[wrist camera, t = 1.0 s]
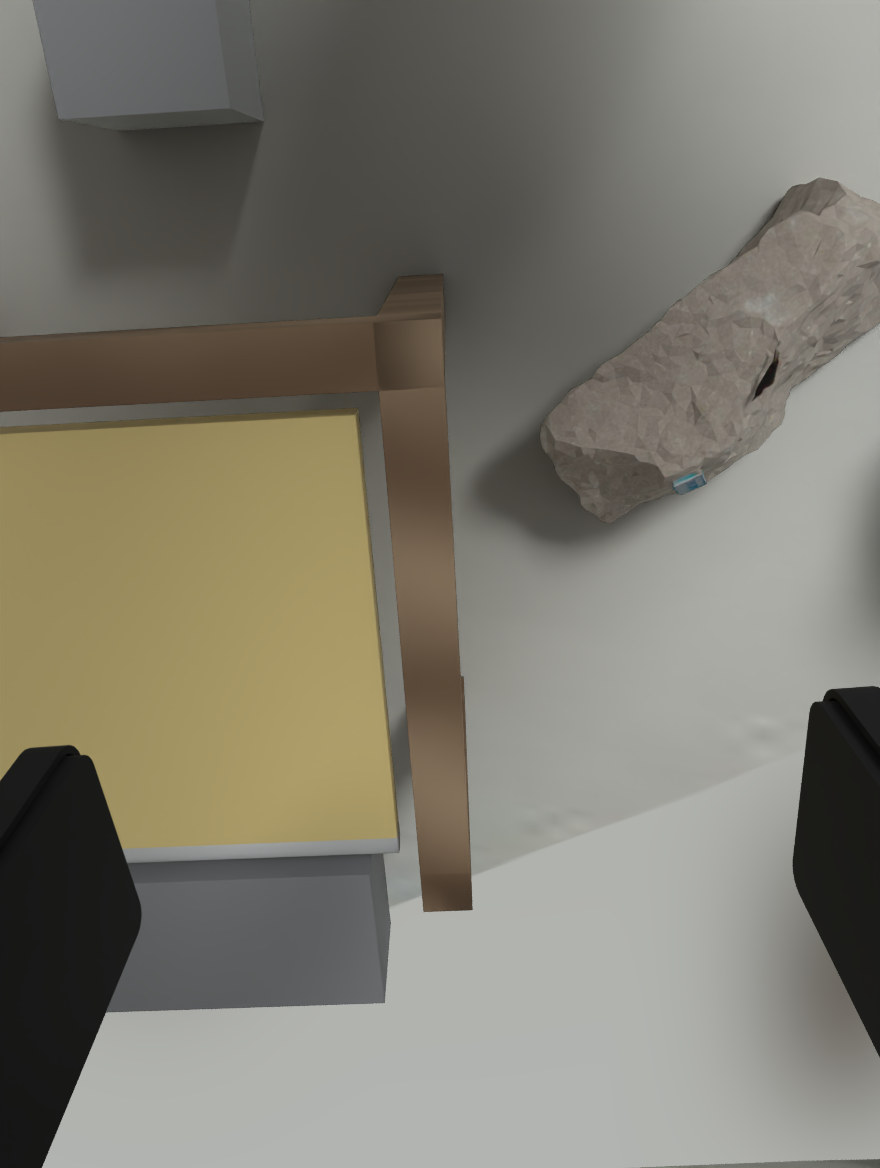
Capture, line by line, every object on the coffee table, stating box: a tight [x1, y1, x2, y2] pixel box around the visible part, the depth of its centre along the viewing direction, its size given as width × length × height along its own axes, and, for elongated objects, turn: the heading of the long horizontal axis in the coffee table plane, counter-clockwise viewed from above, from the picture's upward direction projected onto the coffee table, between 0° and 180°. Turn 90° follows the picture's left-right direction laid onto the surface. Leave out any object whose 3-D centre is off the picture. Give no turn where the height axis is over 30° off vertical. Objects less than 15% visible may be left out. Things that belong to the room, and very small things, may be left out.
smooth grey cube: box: [33, 0, 264, 131], centre depth 25 cm, size 5×5×5 cm
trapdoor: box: [0, 408, 400, 1012], centre depth 27 cm, size 21×14×4 cm, turn 3°
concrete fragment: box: [540, 178, 880, 523], centre depth 29 cm, size 7×14×6 cm, turn 127°
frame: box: [0, 274, 472, 912], centre depth 29 cm, size 19×19×12 cm
